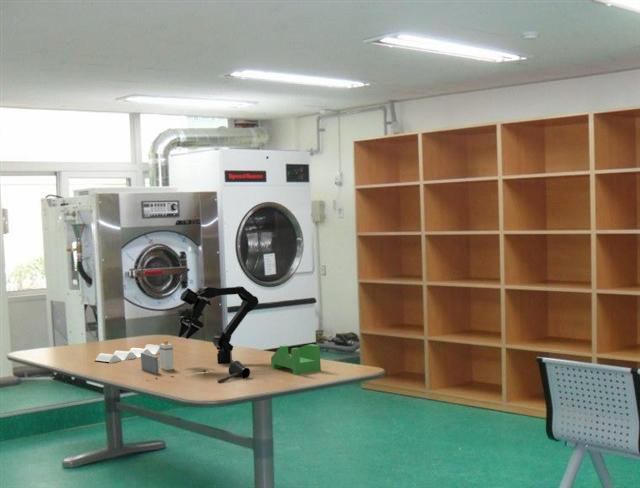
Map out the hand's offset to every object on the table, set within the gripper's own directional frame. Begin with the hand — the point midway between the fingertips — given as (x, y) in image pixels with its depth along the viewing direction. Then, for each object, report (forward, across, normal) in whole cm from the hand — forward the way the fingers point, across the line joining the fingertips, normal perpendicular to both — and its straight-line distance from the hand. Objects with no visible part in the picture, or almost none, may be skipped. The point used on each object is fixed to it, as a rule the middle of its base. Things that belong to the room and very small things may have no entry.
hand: (182, 337), depth 417 cm
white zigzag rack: (+18, -60, +2) cm, 63 cm away
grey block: (+19, 0, -1) cm, 19 cm away
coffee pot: (+11, +44, +12) cm, 47 cm away
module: (+17, 0, 0) cm, 17 cm away
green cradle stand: (-8, +46, +40) cm, 61 cm away
